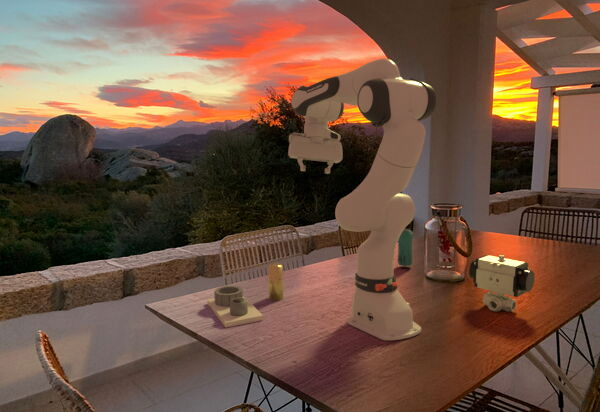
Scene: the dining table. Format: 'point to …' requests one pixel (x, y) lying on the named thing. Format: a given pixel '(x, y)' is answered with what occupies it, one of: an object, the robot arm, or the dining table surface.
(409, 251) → the beverage bottle
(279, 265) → the amber cylinder
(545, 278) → the dining table surface
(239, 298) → the fitting plate
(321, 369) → the dining table surface
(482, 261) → the ball valve
